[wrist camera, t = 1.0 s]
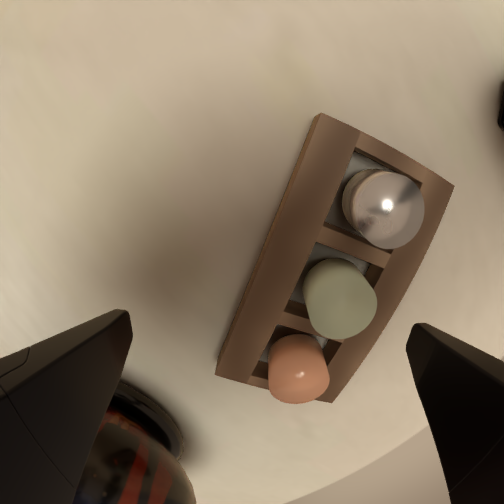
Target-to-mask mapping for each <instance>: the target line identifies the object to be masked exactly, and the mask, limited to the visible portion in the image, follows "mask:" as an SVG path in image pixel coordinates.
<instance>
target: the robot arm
mask: <svg viewBox="0 0 504 504" xmlns="http://www.w3.org/2000/svg"><path fill="white" fill-rule="evenodd" d="M503 122H504V93H503V98H502V104H501V109H500V114H499V118H498V124H499V126H500V127H501V128H502V129H503V130H504V124H503ZM132 338H133V332H132V326H131V320H130V315H129V312H128V311H126V310H120V309H115V310H113V311H110V312H108V313H106V314H103V315H101V316H99V317H96V318H94V319H92V320H89V321H87V322H85V323H83V324H80V325H78V326H76V327H73V328H71V329H69V330H66V331H64V332H62V333H59V334H57V335H55V336H53V337H50V338H48V339H46V340H43V341H41V342H39V343H36V344H34V345H32V346H31V347H27V348H25V349H22V350H20V351H18V352H15V353H13V354H10V355H8V356H5V357H3V358H0V504H72V502H73V499H74V496H75V493H76V490H75V489H77V486H78V483H79V481H80V478H81V475H82V472H83V469H84V467H85V464H86V461H87V458H88V456H89V453H90V450H91V448H92V445H93V443H94V440H95V437H96V435H97V432H98V430H99V427H100V425H101V422H102V420H103V418H104V415H105V413H106V410H107V408H108V405H109V403H110V401H111V398H112V396H113V394H114V391H115V389H116V387H117V385H118V382H119V380H120V377H121V374H122V371H123V368H124V364H125V361H126V358H127V355H128V352H129V348H130V345H131V342H132ZM406 352H407V356H408V359H409V363H410V367H411V370H412V374H413V378H414V382H415V385H416V388H417V391H418V394H419V397H420V400H421V402H422V405H423V408H424V411H425V414H426V417H427V420H428V423H429V426H430V429H431V432H432V435H433V438H434V441H435V444H436V448H437V451H438V454H439V457H440V461H441V465H442V468H443V472H444V476H445V480H446V483H447V487H448V491H449V496H450V501H451V504H504V362H503V361H501V360H499V359H497V358H495V357H493V356H491V355H489V354H487V353H485V352H483V351H481V350H479V349H477V348H475V347H473V346H471V345H469V344H467V343H465V342H463V341H461V340H459V339H457V338H455V337H453V336H451V335H449V334H447V333H445V332H443V331H441V330H439V329H437V328H435V327H433V326H431V325H429V324H427V323H416V324H414V325H413V327H412V330H411V333H410V335H409V338H408V341H407V344H406Z"/></svg>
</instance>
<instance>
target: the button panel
mask: <svg viewBox="0 0 504 504" xmlns="http://www.w3.org/2000/svg"><path fill="white" fill-rule="evenodd" d="M353 151H356V152H358V153H360V154H362V155H364V156H366V157H368V158H370V159H372V160H374V161H376V162H378V163H380V164H382V165H384V166H385V167H387V168H389V169H391V170H393V171H395V172H397V173H398V174H400V175H404V176H406V177H408V178H409V179H411V180H412V181H413V182H414V183H415V184H416V185H417V187H418V188H419V190H420V192H421V194H422V197H423V200H424V218H423V222H422V224H421V227H420V229H419V231H418V232H417V234H416V235H415V236H414V238H413V239H412V240H410V241H409V242H408V243H407V244H405V245H403V246H401V247H398V248H394V249H383V248H379V247H377V246H375V245H373V244H372V243H370V242H369V241H368V240H367V239H365V238H363V237H361V236H358V235H356V234H354V233H351V232H349V231H347V230H344V229H342V228H339V227H337V226H335V225H332V224H330V223H327V222H325V219H326V217H327V215H328V212H329V210H330V208H331V205H332V203H333V200H334V198H335V196H336V193H337V191H338V188H339V186H340V184H341V181H342V179H343V176H344V174H345V171H346V169H347V166H348V164H349V161H350V159H351V156H352V154H353ZM453 189H454V185H452V184H451V183H449V182H448V181H446V180H445V179H443V178H442V177H440V176H439V175H437V174H436V173H434V172H433V171H431V170H429V169H428V168H426V167H425V166H423V165H421V164H420V163H418V162H416V161H415V160H413V159H411V158H410V157H408V156H406V155H405V154H403V153H401V152H399V151H398V150H396V149H394V148H392V147H390V146H389V145H387V144H385V143H383V142H381V141H379V140H377V139H375V138H374V137H372V136H370V135H368V134H366V133H364V132H362V131H360V130H358V129H356V128H354V127H352V126H349V125H347V124H345V123H343V122H341V121H339V120H337V119H334V118H332V117H330V116H328V115H325V114H323V113H320V114H318V115H317V116H315V117H314V120H313V123H312V125H311V128H310V130H309V133H308V135H307V138H306V140H305V143H304V146H303V148H302V151H301V153H300V156H299V158H298V161H297V163H296V166H295V168H294V171H293V174H292V176H291V179H290V181H289V184H288V186H287V189H286V191H285V194H284V196H283V199H282V201H281V204H280V206H279V209H278V211H277V214H276V216H275V219H274V221H273V224H272V226H271V229H270V231H269V234H268V236H267V239H266V241H265V244H264V246H263V249H262V251H261V254H260V256H259V259H258V261H257V264H256V266H255V269H254V271H253V274H252V276H251V279H250V281H249V283H248V286H247V288H246V291H245V293H244V296H243V298H242V301H241V303H240V306H239V308H238V311H237V313H236V315H235V318H234V320H233V323H232V325H231V328H230V330H229V333H228V335H227V337H226V340H225V342H224V345H223V347H222V350H221V352H220V354H219V357H218V360H217V366H216V371H215V375H217V376H220V377H224V378H227V379H231V380H234V381H238V382H241V383H245V384H248V385H252V386H256V387H260V388H264V389H268V390H269V382H268V363H265V362H261V361H259V359H260V357H261V355H262V353H263V351H264V349H265V347H266V345H267V343H268V341H269V339H270V337H271V335H272V333H273V331H274V329H275V327H276V325H277V324H280V325H283V326H286V327H290V328H293V329H296V330H300V331H303V332H307V333H310V334H313V335H317V336H320V337H324V336H322V335H320V334H319V333H318V332H317V331H316V330H315V329H314V328H313V326H312V324H311V321H310V318H309V314H308V311H307V307H306V305H304V304H301V303H298V302H295V301H292V300H289V299H290V296H291V294H292V292H293V290H294V288H295V286H296V284H297V282H298V279H299V277H300V275H301V273H302V271H303V269H304V266H305V264H306V262H307V260H308V258H309V255H310V253H311V251H312V249H313V247H314V244H315V242H319V243H321V244H324V245H326V246H329V247H332V248H334V249H337V250H339V251H342V252H344V253H347V254H349V255H352V256H354V257H357V258H359V259H362V260H364V261H367V262H369V263H371V265H370V267H369V269H368V271H367V273H366V274H365V276H364V278H365V279H366V280H367V282H368V283H369V284H370V286H371V287H372V288H373V290H374V292H375V294H376V297H377V309H376V313H375V316H374V318H373V319H372V321H371V322H370V324H369V325H368V326H367V327H366V328H365V329H364V330H363V331H361V332H360V333H358V334H356V335H354V336H352V337H349V338H345V339H330V338H327V337H324V338H327V339H329V341H328V343H327V344H326V346H325V348H324V349H323V355H324V358H325V362H326V366H327V369H328V373H329V378H330V382H329V385H328V387H327V389H326V390H325V392H324V393H323V394H322V395H320V396H319V397H317V398H316V399H314V400H318V401H323V402H329V403H332V402H333V401H334V400H335V399H336V397H337V396H338V395H339V393H340V392H341V391H342V390H343V388H344V387H345V386H346V384H347V383H348V381H349V380H350V379H351V377H352V376H353V375H354V373H355V372H356V370H357V369H358V368H359V366H360V365H361V363H362V362H363V360H364V359H365V357H366V356H367V354H368V353H369V352H370V350H371V349H372V347H373V345H374V344H375V342H376V341H377V339H378V338H379V336H380V335H381V333H382V331H383V330H384V328H385V327H386V325H387V323H388V322H389V320H390V318H391V317H392V315H393V313H394V312H395V310H396V308H397V307H398V305H399V303H400V301H401V300H402V298H403V296H404V294H405V292H406V291H407V289H408V287H409V285H410V283H411V281H412V280H413V278H414V276H415V274H416V272H417V270H418V268H419V266H420V264H421V262H422V260H423V258H424V256H425V254H426V252H427V250H428V248H429V246H430V244H431V241H432V239H433V237H434V235H435V233H436V230H437V228H438V226H439V224H440V221H441V219H442V217H443V214H444V212H445V209H446V207H447V204H448V202H449V199H450V197H451V194H452V192H453Z"/></svg>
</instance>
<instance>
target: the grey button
mask: <svg viewBox="0 0 504 504" xmlns="http://www.w3.org/2000/svg"><path fill="white" fill-rule="evenodd" d="M342 208H343V212H344V215H345V217H346V219H347V221H348V222H349V223H350V225H352V226H353V227H354V228H355V229H356V230H357V231H358V232H359V233H360V234H361V235H363V236H364V237H365V238H366V239H367V240H368V241H369V242H370V243H372V244H373V245H375V246H377V247H379V248H383V249H394V248H398V247H401V246H403V245H405V244H407V243H408V242H409V241H410V240H412V239H413V238H414V236H415V235H416V234H417V232H418V231H419V229H420V227H421V224H422V222H423V218H424V200H423V197H422V194H421V192H420V190H419V188H418V187H417V185H416V184H415V183H414V182H413V181H412V180H411V179H409V178H408V177H406V176H404V175H400V174H397V173H392V172H388V171H383V170H379V169H367V170H363V171H361V172H359V173H357V174H356V175H354V176H353V177H352V178H351V179H350V180H349V182H348V183H347V185H346V187H345V189H344V192H343V196H342Z"/></svg>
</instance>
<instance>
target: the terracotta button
mask: <svg viewBox="0 0 504 504" xmlns="http://www.w3.org/2000/svg"><path fill="white" fill-rule="evenodd" d="M268 382H269V390H270V392H271V394H272V395H273V396H274V397H275V398H276V399H278V400H280V401H282V402H285V403H291V404H299V403H305V402H309V401H312V400H314V399H316V398H317V397H319V396H320V395H322V394H323V393H324V392H325V390H326V389H327V387H328V385H329V382H330V378H329V373H328V369H327V366H326V362H325V358H324V355H323V351H322V348H321V345H320V344H319V342H318V341H317V340H316V339H314V338H312V337H310V336H308V335H303V334H293V335H288V336H285V337H283V338H281V339H279V340H278V341H276V342H275V343H274V344H273V345H272V346H271V348H270V350H269V353H268Z"/></svg>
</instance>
